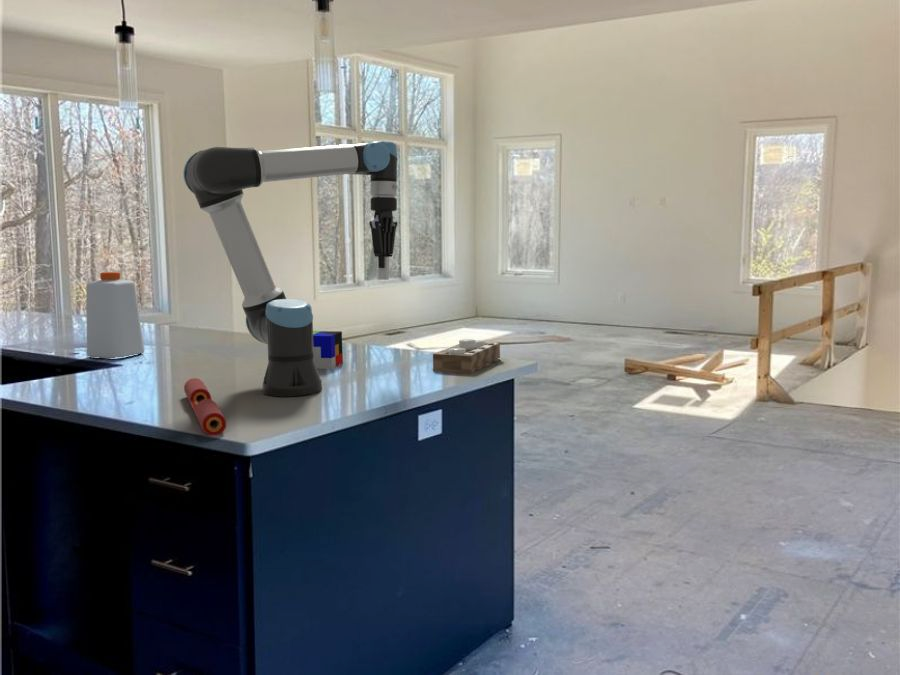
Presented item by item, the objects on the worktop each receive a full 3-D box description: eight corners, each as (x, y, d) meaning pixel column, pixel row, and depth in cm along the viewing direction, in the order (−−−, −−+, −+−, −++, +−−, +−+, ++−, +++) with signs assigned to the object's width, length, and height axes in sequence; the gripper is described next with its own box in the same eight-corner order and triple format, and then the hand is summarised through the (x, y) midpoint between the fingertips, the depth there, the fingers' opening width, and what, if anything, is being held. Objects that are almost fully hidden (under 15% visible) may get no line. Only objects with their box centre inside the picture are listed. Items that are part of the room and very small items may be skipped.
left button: (461, 365, 237) (461, 350, 236) (446, 364, 238) (445, 350, 238) (468, 362, 241) (468, 348, 240) (452, 361, 243) (452, 347, 242)
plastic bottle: (81, 358, 269) (74, 273, 265) (114, 351, 283) (108, 270, 279) (117, 360, 264) (111, 274, 260) (150, 353, 278) (144, 271, 274)
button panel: (471, 373, 234) (471, 353, 233) (433, 370, 239) (432, 351, 238) (499, 359, 256) (499, 341, 255) (464, 357, 261) (464, 340, 260)
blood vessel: (184, 398, 208) (183, 379, 207) (205, 396, 210) (203, 377, 209) (202, 437, 170) (200, 414, 169) (227, 434, 172) (225, 411, 171)
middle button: (472, 356, 244) (472, 342, 243) (456, 355, 246) (456, 341, 245) (478, 353, 248) (478, 339, 248) (463, 352, 250) (462, 338, 249)
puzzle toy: (331, 369, 244) (330, 336, 243) (300, 368, 246) (299, 335, 245) (342, 363, 254) (341, 331, 253) (312, 362, 256) (311, 331, 255)
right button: (481, 356, 251) (481, 342, 250) (466, 355, 253) (466, 342, 252) (487, 354, 256) (487, 340, 255) (472, 353, 258) (472, 339, 257)
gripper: (384, 195, 227) (384, 280, 230) (405, 197, 239) (405, 278, 242) (360, 196, 230) (361, 280, 233) (382, 198, 242) (382, 277, 245)
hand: (383, 279), depth 237 cm, fingers closed
